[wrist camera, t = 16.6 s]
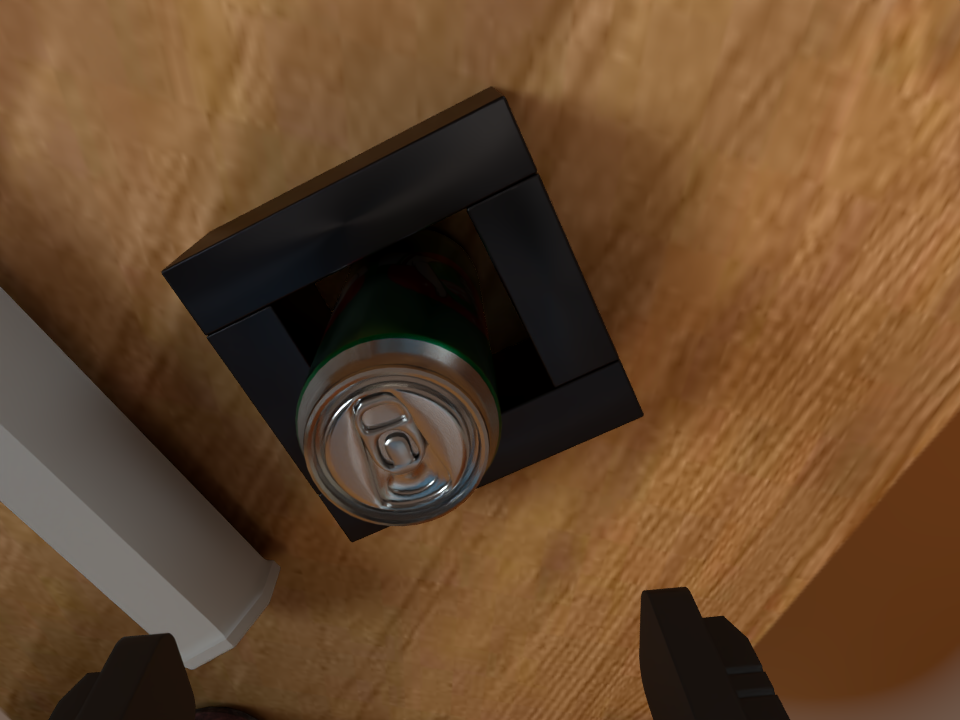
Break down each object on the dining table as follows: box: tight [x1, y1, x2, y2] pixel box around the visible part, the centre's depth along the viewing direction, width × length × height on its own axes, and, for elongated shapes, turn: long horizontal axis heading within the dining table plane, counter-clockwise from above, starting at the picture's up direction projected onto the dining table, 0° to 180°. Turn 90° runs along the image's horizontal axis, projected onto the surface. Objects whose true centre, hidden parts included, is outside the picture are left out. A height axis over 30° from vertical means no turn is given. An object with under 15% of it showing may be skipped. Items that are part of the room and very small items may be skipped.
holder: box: [162, 87, 644, 542], centre depth 25 cm, size 12×12×5 cm
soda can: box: [295, 229, 502, 526], centre depth 22 cm, size 5×5×12 cm
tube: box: [0, 287, 280, 670], centre depth 26 cm, size 5×5×25 cm
